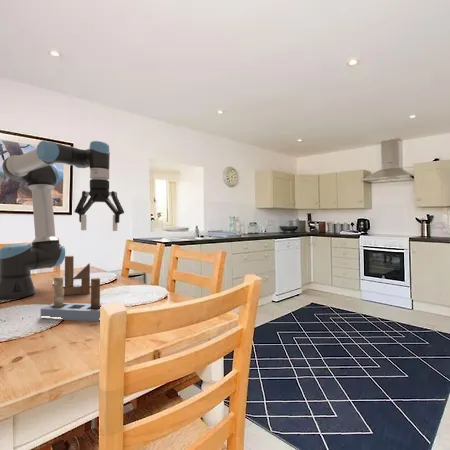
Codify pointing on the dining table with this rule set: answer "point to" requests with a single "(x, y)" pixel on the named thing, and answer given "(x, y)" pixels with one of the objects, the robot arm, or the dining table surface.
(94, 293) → the walnut dowel
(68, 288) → the wooden block
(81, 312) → the hole block
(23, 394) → the dining table surface
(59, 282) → the beech dowel
